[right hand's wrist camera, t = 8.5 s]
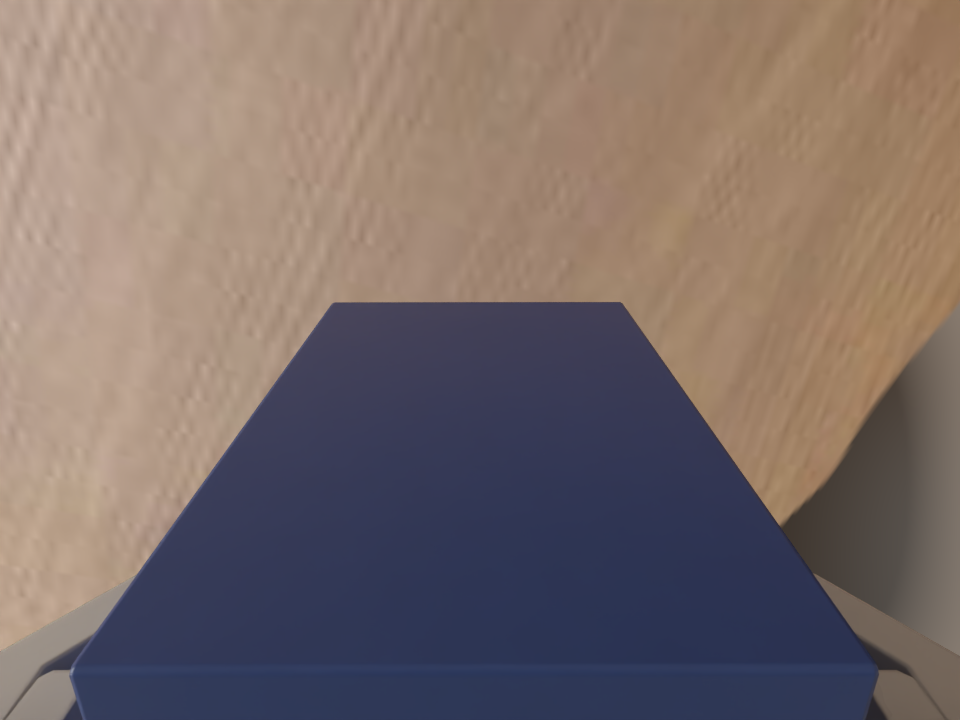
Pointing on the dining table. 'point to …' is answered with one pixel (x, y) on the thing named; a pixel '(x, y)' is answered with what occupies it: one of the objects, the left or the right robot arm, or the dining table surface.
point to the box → (475, 544)
